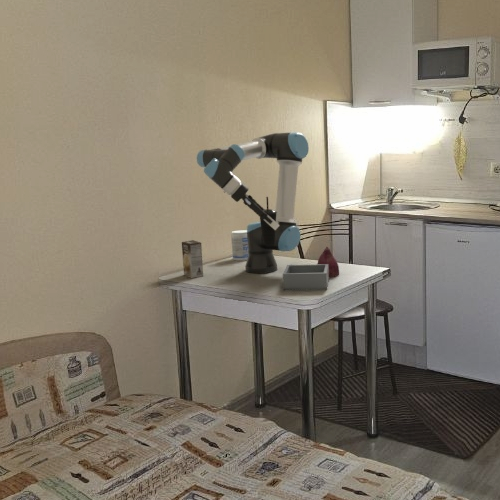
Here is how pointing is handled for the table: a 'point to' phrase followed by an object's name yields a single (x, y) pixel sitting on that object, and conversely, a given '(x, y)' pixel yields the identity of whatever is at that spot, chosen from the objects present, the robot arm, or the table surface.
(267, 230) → the drinking cup
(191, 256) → the coffee box
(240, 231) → the supplement tub
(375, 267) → the table surface
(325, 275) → the bin
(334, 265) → the vegetable
